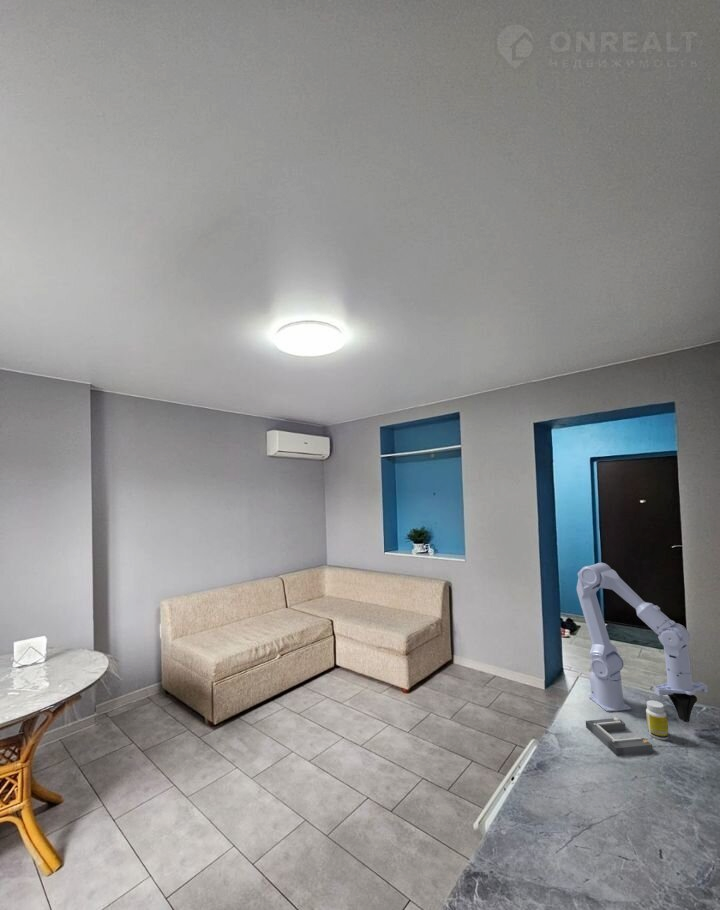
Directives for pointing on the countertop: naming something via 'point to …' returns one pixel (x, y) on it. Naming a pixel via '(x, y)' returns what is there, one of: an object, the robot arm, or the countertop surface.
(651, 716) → the supplement bottle
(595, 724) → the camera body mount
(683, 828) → the countertop surface
